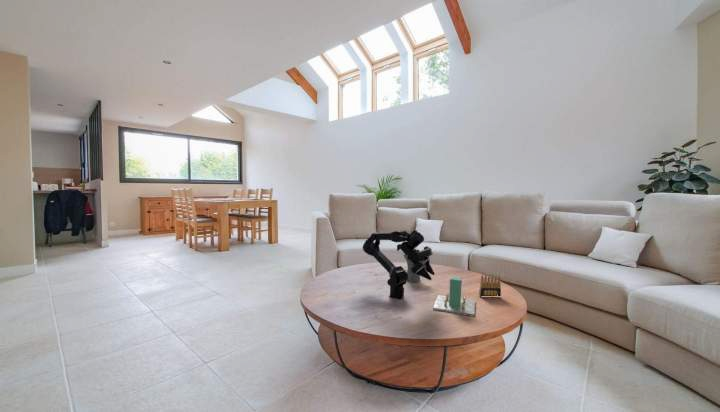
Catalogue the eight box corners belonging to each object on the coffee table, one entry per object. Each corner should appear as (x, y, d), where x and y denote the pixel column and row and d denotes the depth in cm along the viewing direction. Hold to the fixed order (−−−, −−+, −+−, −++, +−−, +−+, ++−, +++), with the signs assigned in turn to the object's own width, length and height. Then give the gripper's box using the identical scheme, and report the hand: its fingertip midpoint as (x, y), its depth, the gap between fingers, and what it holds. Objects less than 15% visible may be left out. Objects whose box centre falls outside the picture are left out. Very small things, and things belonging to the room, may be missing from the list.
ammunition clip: (480, 297, 157) (481, 275, 156) (478, 296, 159) (479, 273, 158) (500, 297, 157) (502, 275, 156) (499, 296, 159) (500, 274, 158)
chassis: (433, 309, 140) (433, 302, 140) (438, 296, 157) (438, 290, 157) (474, 316, 133) (474, 308, 133) (475, 302, 150) (475, 295, 150)
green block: (449, 304, 144) (450, 279, 143) (450, 301, 148) (451, 276, 147) (460, 306, 142) (461, 280, 141) (460, 302, 146) (461, 277, 146)
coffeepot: (400, 280, 183) (400, 251, 182) (405, 276, 191) (405, 248, 190) (424, 284, 176) (426, 254, 175) (429, 280, 184) (430, 251, 183)
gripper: (418, 245, 138) (442, 272, 134) (426, 238, 155) (447, 262, 151) (401, 260, 141) (424, 286, 138) (410, 252, 158) (430, 275, 155)
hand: (432, 277), depth 145 cm, fingers open, 9 cm apart
